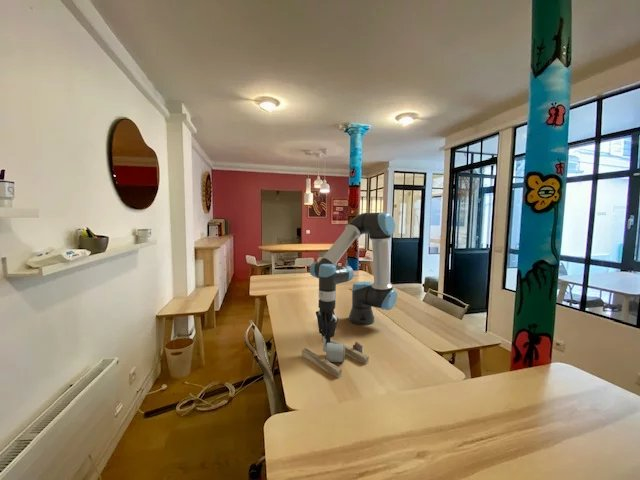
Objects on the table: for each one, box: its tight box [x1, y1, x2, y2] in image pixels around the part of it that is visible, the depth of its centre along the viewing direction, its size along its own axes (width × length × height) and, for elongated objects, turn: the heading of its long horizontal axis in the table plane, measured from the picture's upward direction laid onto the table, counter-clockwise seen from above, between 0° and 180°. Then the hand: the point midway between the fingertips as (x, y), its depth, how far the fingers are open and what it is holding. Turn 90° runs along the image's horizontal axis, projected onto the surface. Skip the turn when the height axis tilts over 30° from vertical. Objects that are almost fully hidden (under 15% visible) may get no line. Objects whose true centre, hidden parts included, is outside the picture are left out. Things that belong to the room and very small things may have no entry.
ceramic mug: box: [325, 343, 346, 363], centre depth 124 cm, size 11×8×8 cm
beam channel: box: [301, 338, 370, 379], centre depth 125 cm, size 22×23×5 cm
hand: (326, 350), depth 128 cm, fingers closed
